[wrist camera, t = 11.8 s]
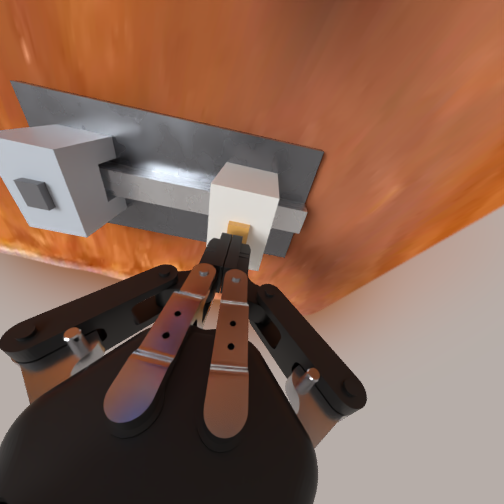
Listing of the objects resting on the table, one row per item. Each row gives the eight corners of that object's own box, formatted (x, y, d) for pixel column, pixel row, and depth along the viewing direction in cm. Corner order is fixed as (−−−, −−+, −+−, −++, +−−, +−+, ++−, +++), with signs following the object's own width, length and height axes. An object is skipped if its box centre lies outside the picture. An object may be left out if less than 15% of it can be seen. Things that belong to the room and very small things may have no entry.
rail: (19, 81, 17) (-20, 78, 14) (322, 150, 18) (329, 157, 16) (72, 211, 24) (51, 222, 22) (284, 253, 25) (285, 268, 23)
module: (226, 161, 18) (208, 186, 13) (277, 173, 19) (279, 202, 13) (219, 226, 23) (203, 265, 17) (261, 235, 23) (257, 275, 18)
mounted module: (56, 124, 18) (-36, 134, 12) (111, 136, 18) (44, 151, 13) (82, 198, 22) (22, 229, 17) (127, 207, 22) (81, 241, 17)
